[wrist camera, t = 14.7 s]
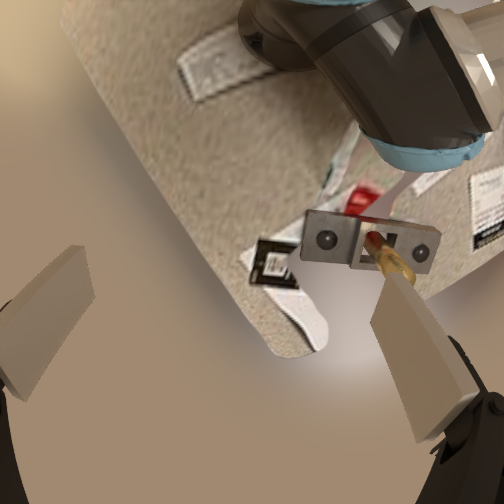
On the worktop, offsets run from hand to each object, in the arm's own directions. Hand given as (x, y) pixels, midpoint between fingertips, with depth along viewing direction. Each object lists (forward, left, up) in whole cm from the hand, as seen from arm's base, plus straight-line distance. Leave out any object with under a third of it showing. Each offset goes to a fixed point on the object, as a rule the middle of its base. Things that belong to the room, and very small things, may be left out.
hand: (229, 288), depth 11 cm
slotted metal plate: (+10, +21, -32) cm, 39 cm away
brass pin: (+10, +21, -32) cm, 39 cm away
